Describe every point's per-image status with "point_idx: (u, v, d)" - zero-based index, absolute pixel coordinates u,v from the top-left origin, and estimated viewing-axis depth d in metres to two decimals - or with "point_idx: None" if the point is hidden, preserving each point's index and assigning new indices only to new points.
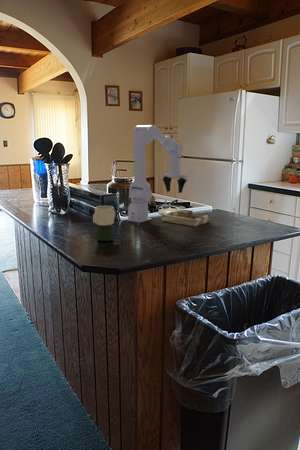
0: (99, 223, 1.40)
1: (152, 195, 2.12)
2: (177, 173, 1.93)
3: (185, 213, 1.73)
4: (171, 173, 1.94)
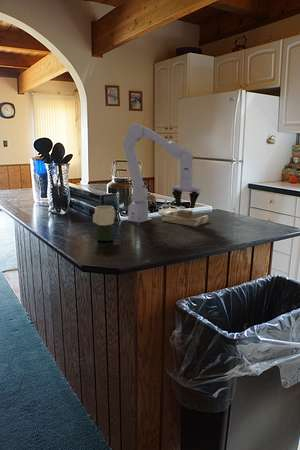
0: (99, 223, 1.40)
1: (153, 195, 2.12)
2: (189, 186, 1.70)
3: (185, 213, 1.73)
4: (182, 186, 1.71)
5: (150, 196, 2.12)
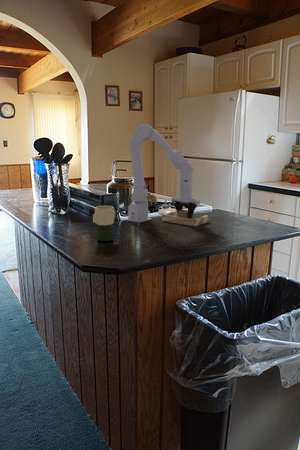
0: (99, 223, 1.40)
1: (153, 195, 2.12)
2: (188, 198, 1.72)
3: (185, 213, 1.73)
4: (182, 198, 1.72)
5: (151, 196, 2.12)
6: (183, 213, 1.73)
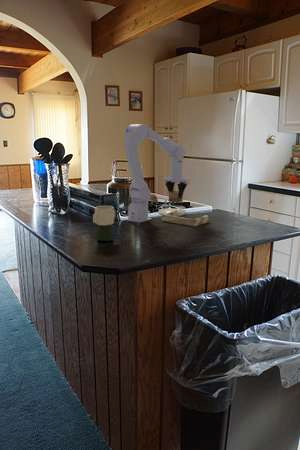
0: (99, 223, 1.40)
1: (154, 195, 2.13)
2: (179, 177, 1.85)
3: (175, 193, 1.86)
4: (173, 177, 1.85)
5: (152, 196, 2.12)
6: (174, 194, 1.87)
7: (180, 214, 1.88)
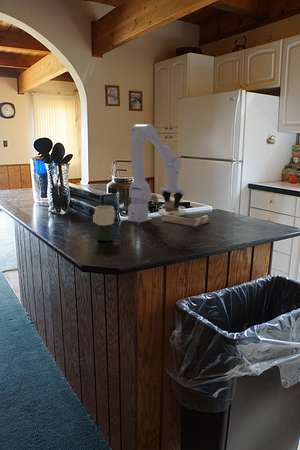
0: (99, 223, 1.40)
1: (155, 195, 2.13)
2: (175, 188, 1.89)
3: (172, 203, 1.90)
4: (169, 188, 1.89)
5: (152, 196, 2.12)
6: (170, 203, 1.90)
7: (180, 214, 1.88)
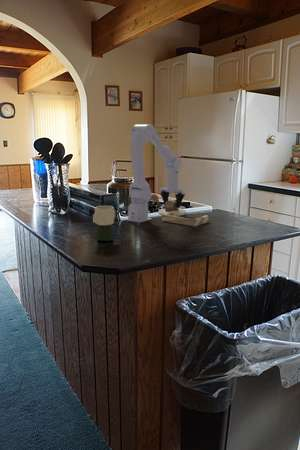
0: (99, 223, 1.40)
1: (156, 195, 2.13)
2: (175, 188, 1.89)
3: (172, 203, 1.90)
4: (169, 188, 1.89)
5: (153, 196, 2.12)
6: (170, 203, 1.90)
7: (180, 214, 1.88)
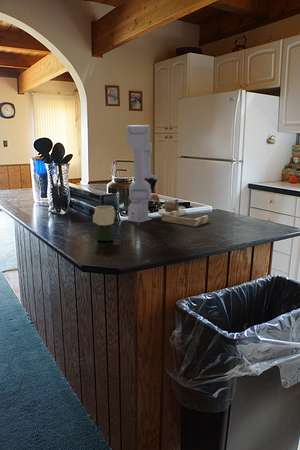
0: (99, 223, 1.40)
1: (156, 195, 2.13)
2: (147, 173, 1.90)
3: (172, 203, 1.90)
4: None
5: (154, 196, 2.12)
6: (170, 203, 1.90)
7: (180, 214, 1.88)
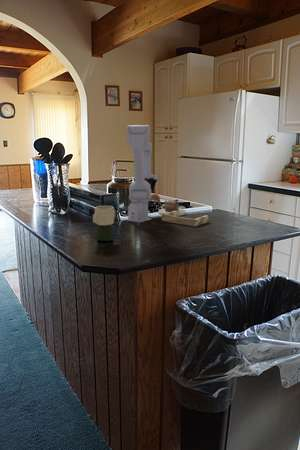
0: (99, 223, 1.40)
1: (157, 195, 2.13)
2: (147, 173, 1.90)
3: (172, 203, 1.90)
4: None
5: (154, 196, 2.13)
6: (170, 203, 1.90)
7: (180, 214, 1.88)
